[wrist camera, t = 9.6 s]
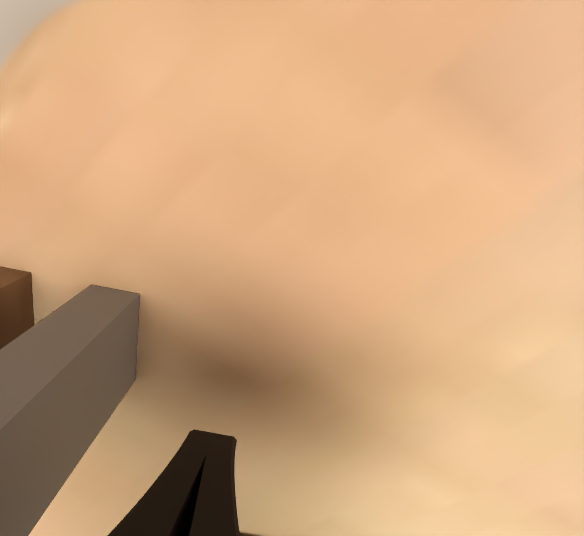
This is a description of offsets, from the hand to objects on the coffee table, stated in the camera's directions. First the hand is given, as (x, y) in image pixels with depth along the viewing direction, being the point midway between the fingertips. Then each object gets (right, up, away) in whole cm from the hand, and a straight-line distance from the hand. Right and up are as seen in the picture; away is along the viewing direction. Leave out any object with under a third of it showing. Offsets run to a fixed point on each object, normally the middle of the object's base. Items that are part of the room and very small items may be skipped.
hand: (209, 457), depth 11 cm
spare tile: (-5, +3, +5) cm, 8 cm away
